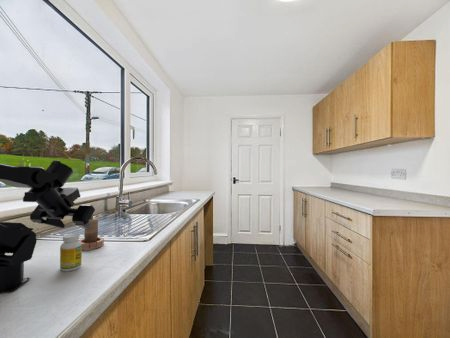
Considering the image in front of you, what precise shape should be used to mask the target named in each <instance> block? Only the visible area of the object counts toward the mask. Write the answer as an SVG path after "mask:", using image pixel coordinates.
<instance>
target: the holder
mask: <svg viewBox="0 0 450 338" xmlns="http://www.w3.org/2000/svg"><path fill="white" fill-rule="evenodd" d="M78 241H80V242H81V243H82V251H89V250H95V249H99V248H101V247H103V246H105V244H104V243H105V238H104V237H100V236H98V241H96V242H92V243H84V238H81V239H79V240H78Z"/></svg>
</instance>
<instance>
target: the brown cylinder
mask: <svg viewBox="0 0 450 338" xmlns="http://www.w3.org/2000/svg"><path fill="white" fill-rule="evenodd" d="M89 226H90V227H89V229H85V228H84V238H83V239H84V243H92V242H96V241H98V237H99V218H98V217H94V214H93V215H92V216H91V218H90V220H89Z"/></svg>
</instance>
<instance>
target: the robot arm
mask: <svg viewBox="0 0 450 338" xmlns="http://www.w3.org/2000/svg"><path fill="white" fill-rule="evenodd" d="M73 173H74V170H73V168H72V167H70V166H68V165H67V164H65V163H62V162H61V160H52V162H50V165H49V166H48V167H47V168H46V169H45V168H43V167H41V166H18V165H17V166H15V165H8V164H3V163H0V182H2V183H3V184H5V185H7V186H10V187H14V188H23V189H24V188H25V189H29V190H28V191H25V192H24V193H23V198H22V201H23V203H36V204H37V206H36V207H35V208H34V210H33V211H32V212H31V213H30V215H29V220H30V221H31V222H32V223H36V224H40V225H44V226H45V225H46V226H50V227H55V228H59V229H60V228H61V229H64V228H65V226H66V225H65V223H64V222H63V221H62V220H64V218H65V217H71V222H72V223H74V225H75V226H78V227H79V228H83V229H84V230H85V229H89V227H90V226H89V220H90V218H91V216H92V215H93V216H94V213H95V211H96V208H95V207H94V206H93V205H92V204H79V205H78V207H77V208H73V207H74V205H75V201H76V200H77V199H79V198H81V194H80V193H81V192H80V190H79V188H78V187H64V186H65V184H66V183H67V181H68V180H69V179H70V178H71V176H72V175H73ZM36 244H37V233H36V232H34V228H33V227H28V226H26V225H25V224H24V223H22V222H11V221H9V222H8V221H7V222H6V221H0V293H12V292H14V291H16V290H17V289H19V288H20V287H22V286H23V285H24V284H26V283H27V282H29V281H30V280H31V278H30V277H25V276H24V274H25V273H24V267H25V266H24V265H25V264H24V263H25V262H27V261H30V260H32V257H33V255H34V251H35V248H36ZM10 254H11V255H10Z"/></svg>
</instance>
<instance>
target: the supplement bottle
mask: <svg viewBox="0 0 450 338" xmlns="http://www.w3.org/2000/svg"><path fill="white" fill-rule="evenodd" d="M79 240H80V234H78V233H68V234H65V235H64V236H62V241H63V243H61V244H60V248H59V256H60V257H59V269H60V271H61V272H71V271H76V270H78V269H79V268H81V267H82V260H83V259H82V256H83V255H82V251H83V250H82V243H81V242H80V241H79Z"/></svg>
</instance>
